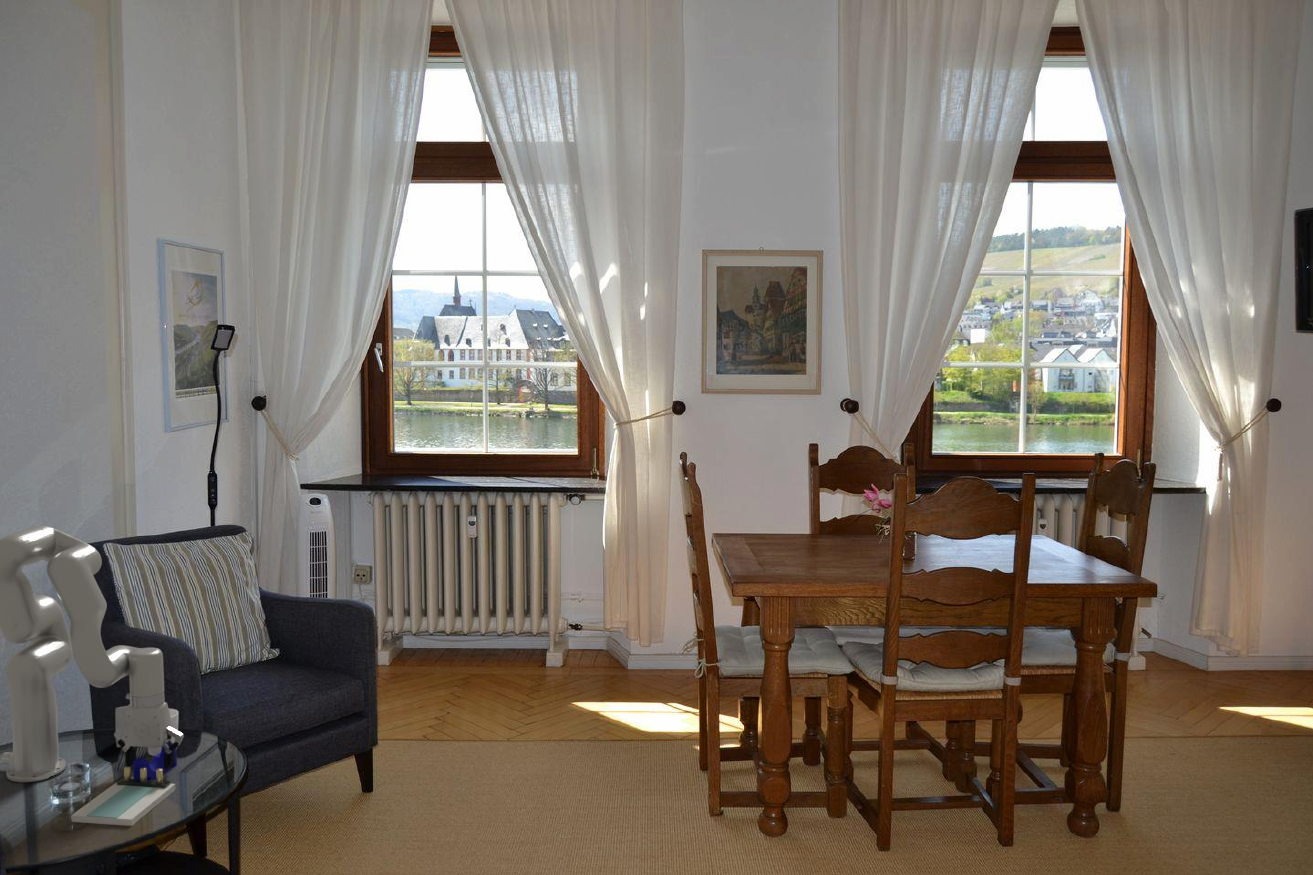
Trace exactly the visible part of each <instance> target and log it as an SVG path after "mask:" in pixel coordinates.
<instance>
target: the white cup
mask: <svg viewBox="0 0 1313 875" xmlns="http://www.w3.org/2000/svg"><path fill="white" fill-rule="evenodd" d="M169 712H170V718H171V725H172V728H173V729H175V730H177V731H179V711H178V710H177V709H175V708H169ZM171 741H172V742H173V743H174V742H175V738H174V737H172V738H171ZM161 749H162V747H158V748H150V747H147V753H148V755H150V756H152V757H154V756H156V755H158V754H159V753H161Z"/></svg>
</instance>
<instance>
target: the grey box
mask: <svg viewBox="0 0 1313 875" xmlns="http://www.w3.org/2000/svg"><path fill="white" fill-rule="evenodd" d="M127 706H128V705H125V706H120V707H115V708H114V709H115V714H114V715H115V732H117V731H118V730H120V729H122V728H124V724H125V715H126V710H127ZM123 736H124V734H123ZM115 744H116V748H122V747H121V746H120V745H119V744H118V740H117V739H116V738H115Z"/></svg>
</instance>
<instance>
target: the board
mask: <svg viewBox="0 0 1313 875" xmlns="http://www.w3.org/2000/svg"><path fill="white" fill-rule="evenodd" d="M175 791H176V783H170V785H169V786H168V787H167V788H154V787H139V786H124V785H117V781H116V782H115V783H114V784H112V785H110V786H109V787H108V788H106V789H105V790H104V791H103V792H101V793H100V794H98V795H96V797H94V798H93V799H92V800H90V801H89V802H88V803H86V804H85V805H84V806H81V808H79V809H78V810H77V811H75V812H74V813H73V814H71V815H70V816H71V823H83V824H87V823H88V824H96V825H97V824H98V825H113V826H114V825H116V826H127V827H133V826H134V825H135V824H136V823H137V822H139V821H140V820H141V819H142V818H144V817H145V816H146V815H147V814H148V813H150V812H151V811H152V810H153V809H154V808H156V806H158V805H159V804H160V803H161V802H163V801H165V799H166V798H167V797H169V796H170V795H171V794H173V793H174V792H175Z"/></svg>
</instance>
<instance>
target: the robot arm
mask: <svg viewBox="0 0 1313 875" xmlns="http://www.w3.org/2000/svg"><path fill="white" fill-rule="evenodd" d="M40 561H45V562H47V564H46V573H47V576H48V578H49V580H50V582H51V584H52V586H53V589H54V590H55V592H56V594H57V596H58V598H59V600H60V602H61V604H62V606H63V608H64V611H65V612H66V614H67V616H68V618H69V620H70V621H69V622H70V623H69V624H70V625H69V628H70V629H69V628H68V625H67V621H66V618H65V615H64V612H63V609H62V607H61V606H60V604H59V603H58V602H57V600H55V599H54V598H53V597H51V596H49V595H44V594H37V595H35V594H34V592H33V587H32V585H31V582H30V580H29V578H28V576H26V574H25V573H24V572H23V571H22V570H23V569H24V568H25V567H27V566H30V565H33V564H35V563H38V562H40ZM102 561H103V560H102V556H101V554H100V552H99V551H98V550H97V549H96V548H95V546H93V545H91V544H89V543H87V542H85V541H83V540H81V539H79V538H76V537H74V536H72V535H70V534H67V533H66V532H63V531H60V530H59V529H57V528H55V527H51V526H47V525H35V526H30V527H28V528H25V529H22V530H19V531H14V532H12V533H10V534H8V535H6V536H3V537H1V538H0V634H1V635H2V637H3V638H4V639H5V641H6V642H8V643H10V644H13V645H19V644H24V643H26V642H29V641H30V643H31V644H29V645H27V646H25V647H24V648H22V649H20V650H19V651H17V652H16V653H14V654H13V655H12V657H11V658H10V659H9V660H8V662H7V664H6V665H5V666H6V667H5V679H6V682H7V686H8V690H9V696H10V697H9V698H10V708H11V709H10V710H11V729H12V732H11V733H12V752H9V751H8V752H7V751H6V752H5V751H4V752H3V753H2V755H1V758H0V764H1V765H9V768H8V769H7V771H6V778H7V779H8V780H9V781H12V782H17V783H32V782H33V783H34V782H40V781H45V780H46V779H47V780H48V779H50V778H49V777H50V776H53V775H55V774H57V773H59V772H61V771H62V770H64V769H65V770H66V768H67V761H66V760H65V759H63V758H62V757H60V754H59V730H58V703H57V695H56V691H55V688H54V686H53V684H52V678H53V677H55V676H56V675H58V674H60V673H62V672H63V671H64V670H65V669H67V668H68V667H69V666H70V664H71V663H72V661H73V659H74V661H75V663H76V665H77V667H78V669H79V670H80V673H81V674H82V676H83V678H84V679H85V680H86V682H87V683H88V684H89V685H91V686H93V687H95V688H99V689H102V688H109V687H111V686H112V685H113V684H115V683H117V682H118V681H120V680H122V679H123V678H125V677H127V676H128V677H129V693H126V695H125V699H126V700H129V704H128V705H126V706H127V710H126V715H125V724H124V728H122V729H120V730H118V731H117V732H116V731H115V732H114V733H113V735H114V738H115V740H116V739H117V740H118V744H119V745H120V746H121V747H120V748H122V749H121V750H122V751H123V752H124V758H125V763H126V764H125V767H127V766H130V768H131V767H133V761H134V760H136V759H137V747H138V748H148V747H150V748H158V747H162V748H163V750H164V751H165V752H166V753H165V754H164V769H169V768H170V767H171V766H172V765H173V764H174V761H175V759H174V750H175V749H176V748H177V749H178V747H179V746H180V745H181V744H182V741H183V739H184V738H185V735H184V733H182V732H181V731H179V730H178V731H177V730H175V729H173V728H172V725H171V718H170V712H169V709H170V708H169V706H168V702H166V701H165V700H166V699H165V675H164V674H165V673H164V655H163V654H164V653H163V652H162V650H161V648H157V647H141V648H139V647H135V646H130V645H122V644H121V645H120V644H119V645H115V646H112V647H111V648H109V649H107V650H106V649H105V646H104V644H103V640H102V636H101V632H102V631H101V628H102V623H103V620H104V617H105V614H106V611H107V608H108V606H107V601H106V599H105V597H104V595H103V593H102V590H101V588H100V587H99V585H98V583H97V581H96V578H95V577H94V575H95V574H97V573H98V572H99V571H100V569H101V567H102V563H103V562H102ZM123 734H124V736H123ZM172 737H174V738H175V742H174V743H173V742H172V741H171V738H172ZM65 767H66V768H65ZM65 770H64V771H65ZM61 773H62V772H61ZM53 777H54V776H53Z"/></svg>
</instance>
